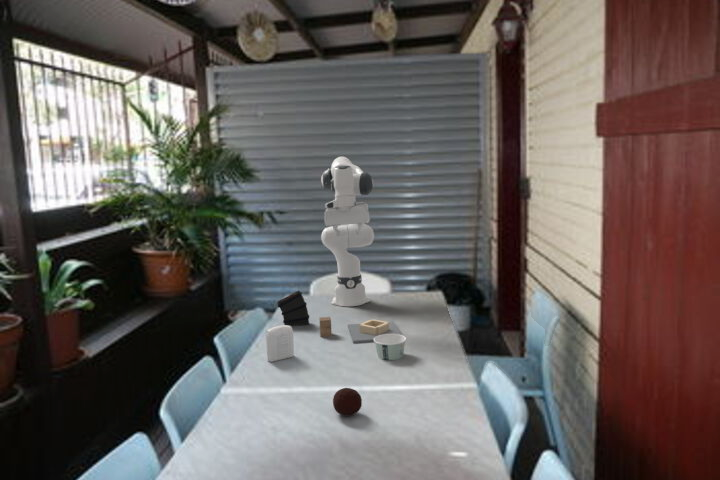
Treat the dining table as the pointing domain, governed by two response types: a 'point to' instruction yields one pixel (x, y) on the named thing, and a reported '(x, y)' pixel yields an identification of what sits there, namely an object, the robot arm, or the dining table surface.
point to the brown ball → (347, 401)
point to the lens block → (325, 326)
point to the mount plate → (368, 336)
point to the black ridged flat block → (294, 310)
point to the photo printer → (279, 343)
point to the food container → (390, 346)
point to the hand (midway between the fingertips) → (348, 235)
